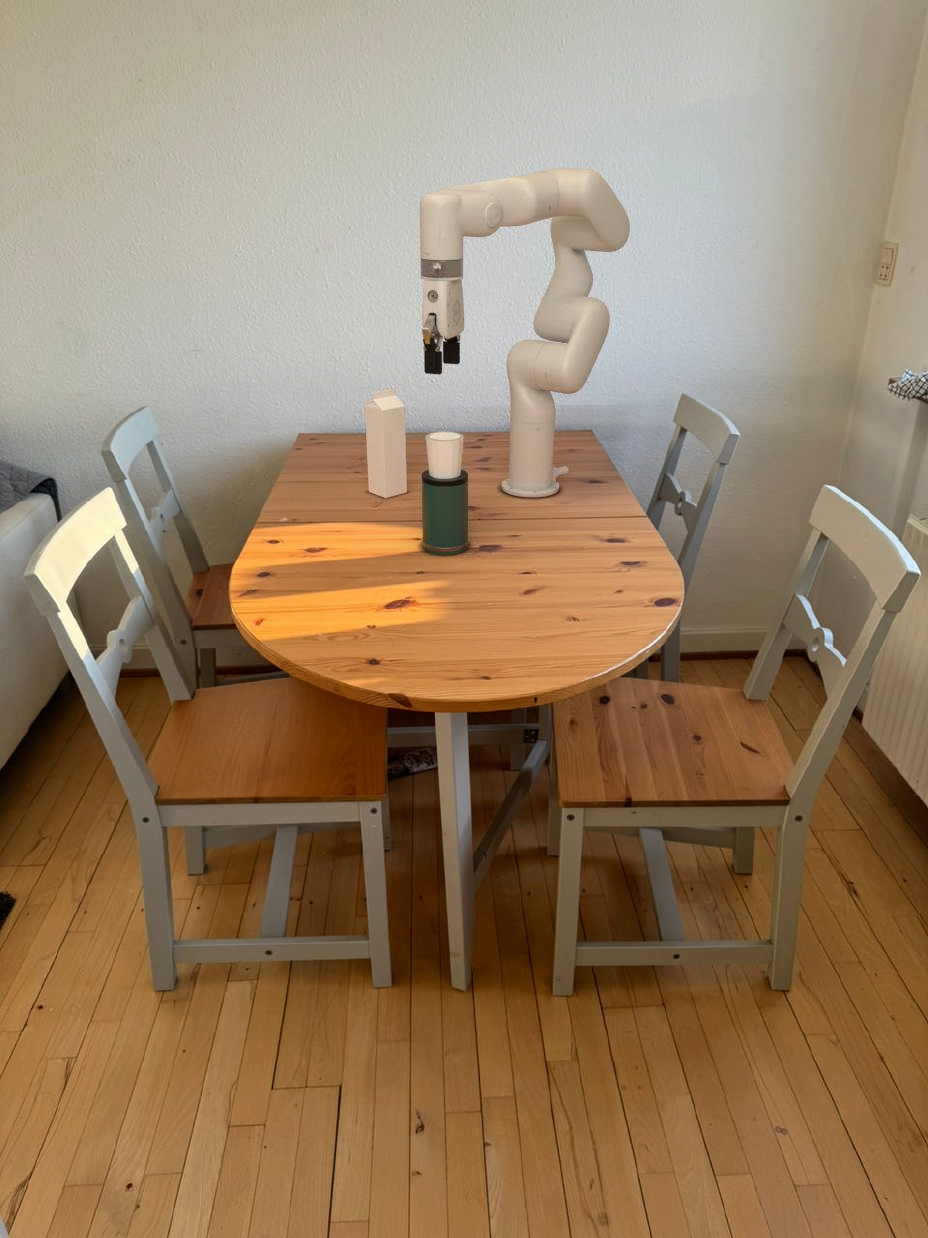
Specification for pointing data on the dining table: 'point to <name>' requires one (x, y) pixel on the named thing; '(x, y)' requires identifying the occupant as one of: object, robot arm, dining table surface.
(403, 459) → the milk
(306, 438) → the dining table surface
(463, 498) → the green can
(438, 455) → the shot glass
